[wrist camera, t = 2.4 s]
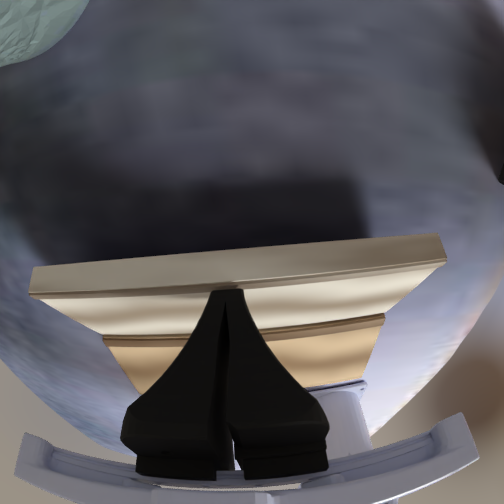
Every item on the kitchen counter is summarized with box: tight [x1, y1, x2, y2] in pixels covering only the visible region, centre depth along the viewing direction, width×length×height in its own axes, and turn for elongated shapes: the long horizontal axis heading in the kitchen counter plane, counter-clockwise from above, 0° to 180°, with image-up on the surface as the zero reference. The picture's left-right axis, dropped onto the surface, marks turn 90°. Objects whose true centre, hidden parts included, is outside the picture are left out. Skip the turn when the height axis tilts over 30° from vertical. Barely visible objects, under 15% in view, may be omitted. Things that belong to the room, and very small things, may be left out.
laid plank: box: [103, 313, 385, 394], centre depth 23 cm, size 9×22×2 cm, turn 94°
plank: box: [28, 233, 447, 335], centre depth 16 cm, size 9×22×2 cm, turn 93°
